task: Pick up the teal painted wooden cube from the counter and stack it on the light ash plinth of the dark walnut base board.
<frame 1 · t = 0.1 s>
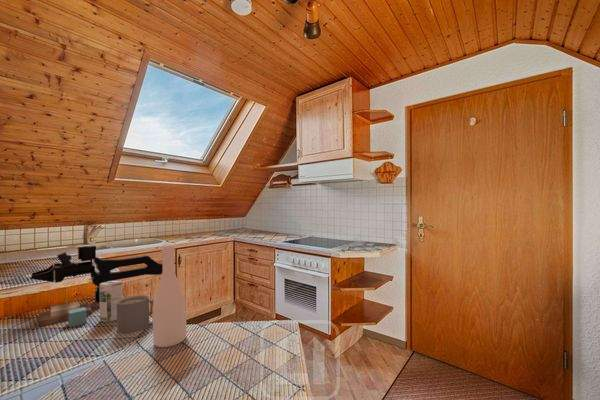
hand: (31, 275, 116), 17 cm above the countertop, tool horizontal, fingers open, 9 cm apart
stacking base: (65, 316, 113), on the countertop
wine bottle: (170, 341, 86), on the countertop
syrup box: (111, 319, 107), on the countertop
coffee mug: (138, 326, 99), on the countertop
teal cube: (77, 323, 104), on the countertop
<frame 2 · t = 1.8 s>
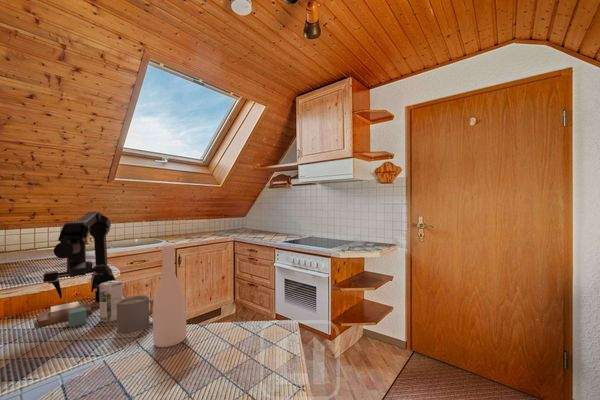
hand: (76, 295, 105), 11 cm above the countertop, tool pointing down, fingers open, 9 cm apart
nothing on the countertop moved.
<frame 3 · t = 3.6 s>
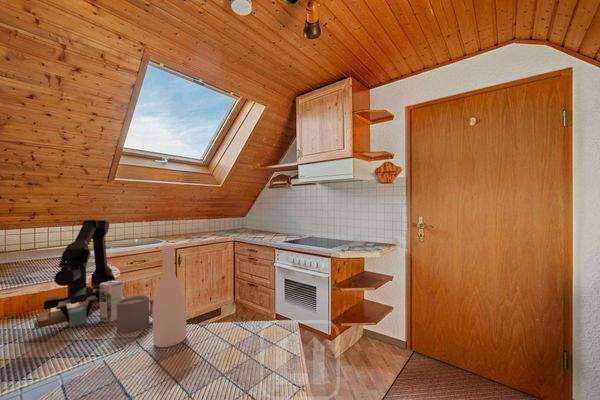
hand: (77, 320, 104), 1 cm above the countertop, tool pointing down, fingers closed on teal cube, 5 cm apart
teal cube: (77, 323, 104), on the countertop, touching gripper
everything else where it was.
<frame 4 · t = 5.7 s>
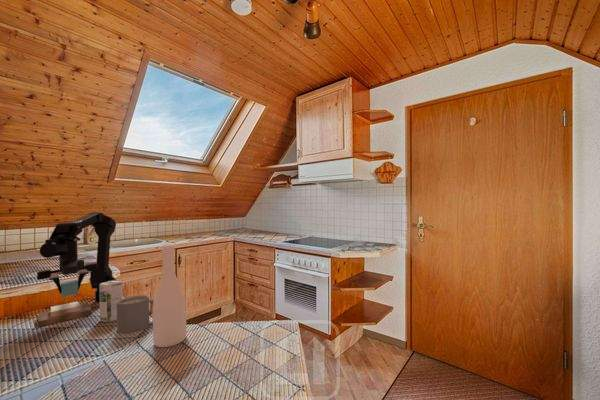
hand: (69, 291, 111), 11 cm above the countertop, tool pointing down, fingers closed on teal cube, 5 cm apart
teal cube: (69, 294, 111), point 10 cm above the countertop, touching gripper
everything else where it was.
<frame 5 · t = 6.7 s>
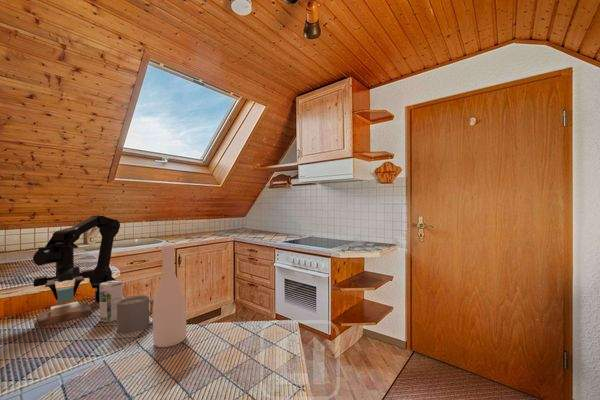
hand: (65, 298, 113), 7 cm above the countertop, tool pointing down, fingers closed on teal cube, 5 cm apart
teal cube: (65, 300, 113), point 6 cm above the countertop, touching gripper
everything else where it was.
when the fingers open (6 cm above the countertop, at t = 7.7 s): teal cube stays where it is, resting on stacking base.
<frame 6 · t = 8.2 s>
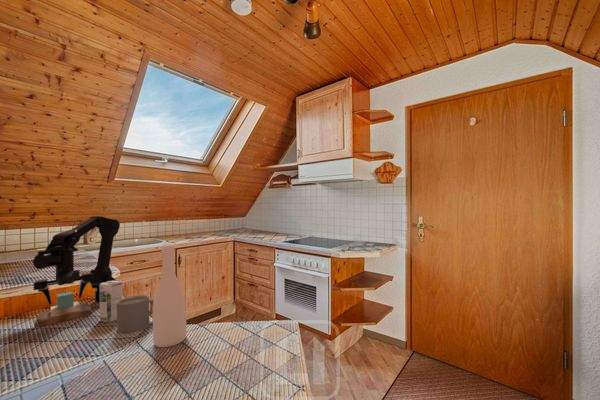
hand: (65, 301, 113), 6 cm above the countertop, tool pointing down, fingers open, 9 cm apart
teal cube: (65, 306, 113), point 4 cm above the countertop, touching stacking base
everything else where it was.
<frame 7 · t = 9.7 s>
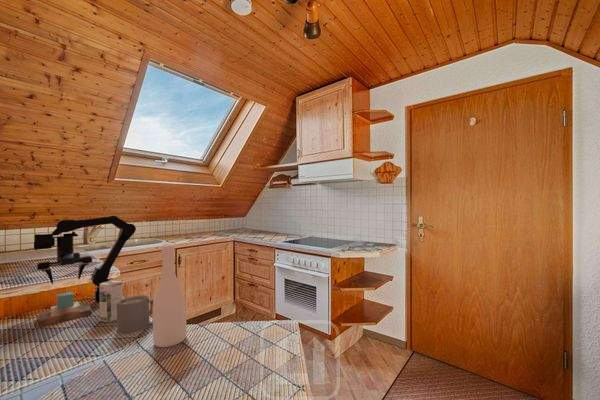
hand: (65, 281, 124), 12 cm above the countertop, tool pointing down, fingers open, 9 cm apart
nothing on the countertop moved.
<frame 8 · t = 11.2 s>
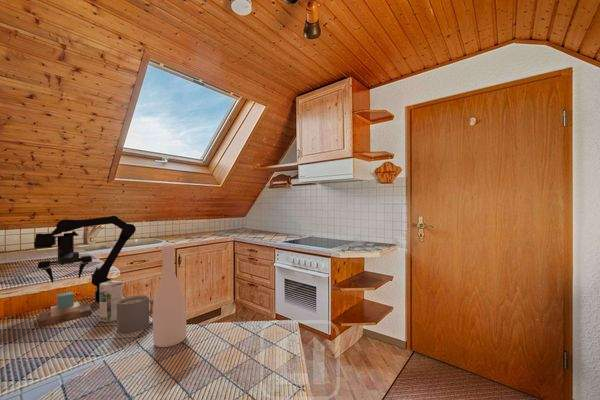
hand: (66, 280, 125), 12 cm above the countertop, tool pointing down, fingers open, 9 cm apart
nothing on the countertop moved.
at the end: teal cube inside the target area on the stacking base (0.0 cm from its centre), point 4.0 cm above the stacking base's base; teal cube tilted 0°; the gripper is holding nothing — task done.
